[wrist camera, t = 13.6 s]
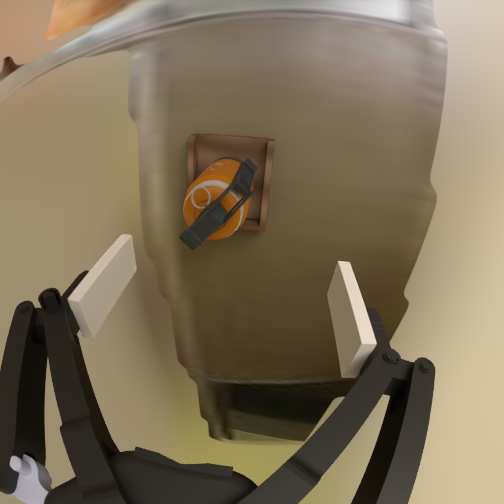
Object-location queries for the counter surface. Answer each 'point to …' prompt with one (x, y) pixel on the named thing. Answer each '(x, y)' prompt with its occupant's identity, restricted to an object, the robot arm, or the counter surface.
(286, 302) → the counter surface
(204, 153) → the cradle
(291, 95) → the counter surface
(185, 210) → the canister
